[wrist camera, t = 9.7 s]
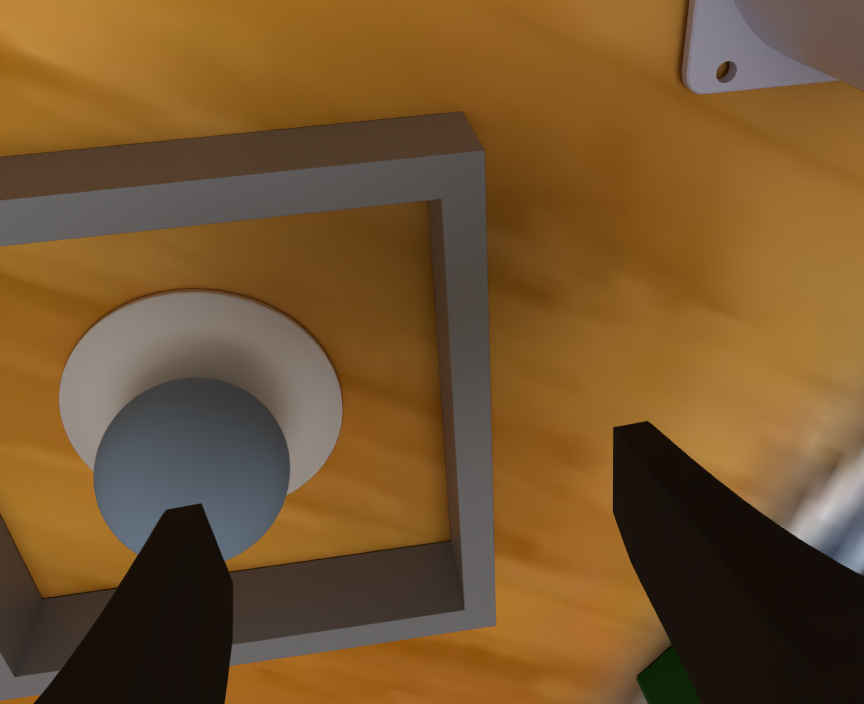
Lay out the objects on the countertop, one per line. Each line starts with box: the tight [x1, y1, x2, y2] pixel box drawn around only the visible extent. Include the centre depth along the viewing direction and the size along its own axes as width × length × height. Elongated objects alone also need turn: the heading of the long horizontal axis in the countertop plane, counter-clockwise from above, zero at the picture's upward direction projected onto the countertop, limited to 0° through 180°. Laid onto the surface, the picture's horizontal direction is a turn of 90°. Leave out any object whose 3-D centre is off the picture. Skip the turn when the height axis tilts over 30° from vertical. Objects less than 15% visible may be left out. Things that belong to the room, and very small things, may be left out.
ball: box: [94, 377, 290, 561], centre depth 21 cm, size 5×5×5 cm
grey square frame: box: [0, 112, 496, 701], centre depth 22 cm, size 16×16×3 cm
